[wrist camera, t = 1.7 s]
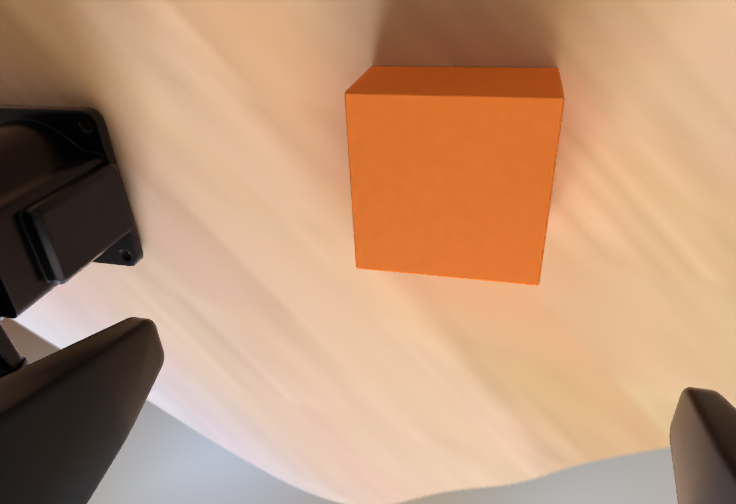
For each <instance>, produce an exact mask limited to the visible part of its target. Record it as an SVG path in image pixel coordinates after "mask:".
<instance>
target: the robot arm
mask: <svg viewBox="0 0 736 504" xmlns="http://www.w3.org/2000/svg"><path fill="white" fill-rule="evenodd" d="M86 119H88V120H89V121H90V123H91V125H92V127H91V126H90V125H89V124H88V123H87V120H86ZM128 252H129V253H131V255H130V254H129V253H128ZM142 257H143V251H142V247H141V244H140V240H139V237H138V234H137V230H136V227H135V224H134V220H133V217H132V213H131V210H130V207H129V203H128V200H127V196H126V193H125V190H124V186H123V183H122V179H121V176H120V173H119V169H118V166H117V162H116V159H115V156H114V152H113V149H112V146H111V142H110V139H109V135H108V132H107V129H106V125H105V122H104V120H103V117H102V116H101V115H100V113H99V112H98V111H96V110H95V109H92V108H86V107H53V106H19V105H0V321H1V320H3V319H4V318H5V317H6V318H16V317H18V316H19V315H20V314H21V313H23V312H24V311H25V310H26V309H28V308H29V307H30V306H32V305H33V304H34V303H35V302H37V301H38V300H39V299H40V298H42V297H43V296H44V295H45V294H47V293H48V292H49V291H51V290H52V289H53V288H54V287H56V286H57V285H58V284H64V283H66V282H67V281H68V280H70V279H71V278H72V277H73V276H75V275H76V274H77V273H78V272H80V271H81V270H82V269H83V268H85V267H86V266H87V265H88V264H90V263H91V262H97V263H107V264H117V265H126V266H134V265H135V264H136V263H138V262H139V261H140V260H141V259H142ZM163 361H164V351H163V348H162V345H161V341H160V338H159V335H158V332H157V328H156V325H155V323H154V322H153V321H152V320H150V319H145V318H137V317H131V318H128V319H125V320H123V321H121V322H119V323H117V324H115V325H112V326H110V327H108V328H106V329H104V330H102V331H100V332H98V333H95V334H93V335H91V336H89V337H87V338H85V339H83V340H81V341H78V342H76V343H74V344H72V345H70V346H68V347H66V348H63V349H61V350H59V351H57V352H55V353H53V354H51V355H49V356H46V357H45V358H42V359H40V360H38V361H36V362H34V363H32V364H29V363H28V362H27V360H26V358H25V357H21V355H20V354H19V352H18V350H17V349H16V347H15V345H14V344H13V342H12V340H11V339H10V337H9V336H8V334H7V332H6V331H5V329H4V327H3V326H2V324H1V322H0V504H87V503H88V501H89V499H90V498H91V496H92V495H93V493H94V491H95V490H96V488H97V486H98V485H99V483H100V481H101V480H102V478H103V477H104V475H105V473H106V472H107V470H108V468H109V466H110V465H111V464H112V462H113V460H114V459H115V457H116V455H117V454H118V452H119V450H120V449H121V447H122V445H123V444H124V442H125V440H126V438H127V437H128V435H129V433H130V431H131V429H132V427H133V425H134V423H135V421H136V419H137V417H138V415H139V413H140V410H141V409H142V407H143V404H144V403H145V401H146V398H147V396H148V394H149V392H150V390H151V388H152V386H153V384H154V382H155V380H156V378H157V376H158V374H159V372H160V370H161V367H162V365H163ZM670 445H671V453H672V461H673V468H674V476H675V484H676V492H677V500H678V504H736V408H734V407H733V406H732V405H731V404H730V403H729V402H728V401H727V400H726V399H725V398H724V397H723V396H722V395H720V394H719V393H718V392H716V391H713V390H708V389H700V388H692V387H688V388H686V389H684V390H683V392H682V393H681V396H680V399H679V402H678V405H677V408H676V411H675V414H674V417H673V420H672V423H671V427H670Z"/></svg>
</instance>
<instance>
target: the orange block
mask: <svg viewBox="0 0 736 504" xmlns="http://www.w3.org/2000/svg"><path fill="white" fill-rule="evenodd" d="M563 105H564V94H563V88H562V83H561V78H560V73H559V69H558V68H506V67H390V66H372V67H370V68H369V69H368V70H367V71H366V72H365V73H364V74H363V75H362V76H361V77H360V78H359V79H358V80H357V81H356V82H355V83H354V84H353V85H352V86H351V87H350V88H349V89H348V90H347V91H346V92H345V106H346V121H347V136H348V152H349V167H350V182H351V197H352V212H353V227H354V242H355V257H356V267H357V268H358V269H368V270H379V271H389V272H400V273H410V274H421V275H431V276H442V277H452V278H463V279H473V280H484V281H494V282H505V283H515V284H526V285H536V286H537V285H539V282H540V274H541V267H542V260H543V252H544V245H545V238H546V230H547V223H548V216H549V208H550V201H551V193H552V186H553V179H554V171H555V164H556V157H557V149H558V142H559V135H560V127H561V120H562V113H563Z"/></svg>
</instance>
